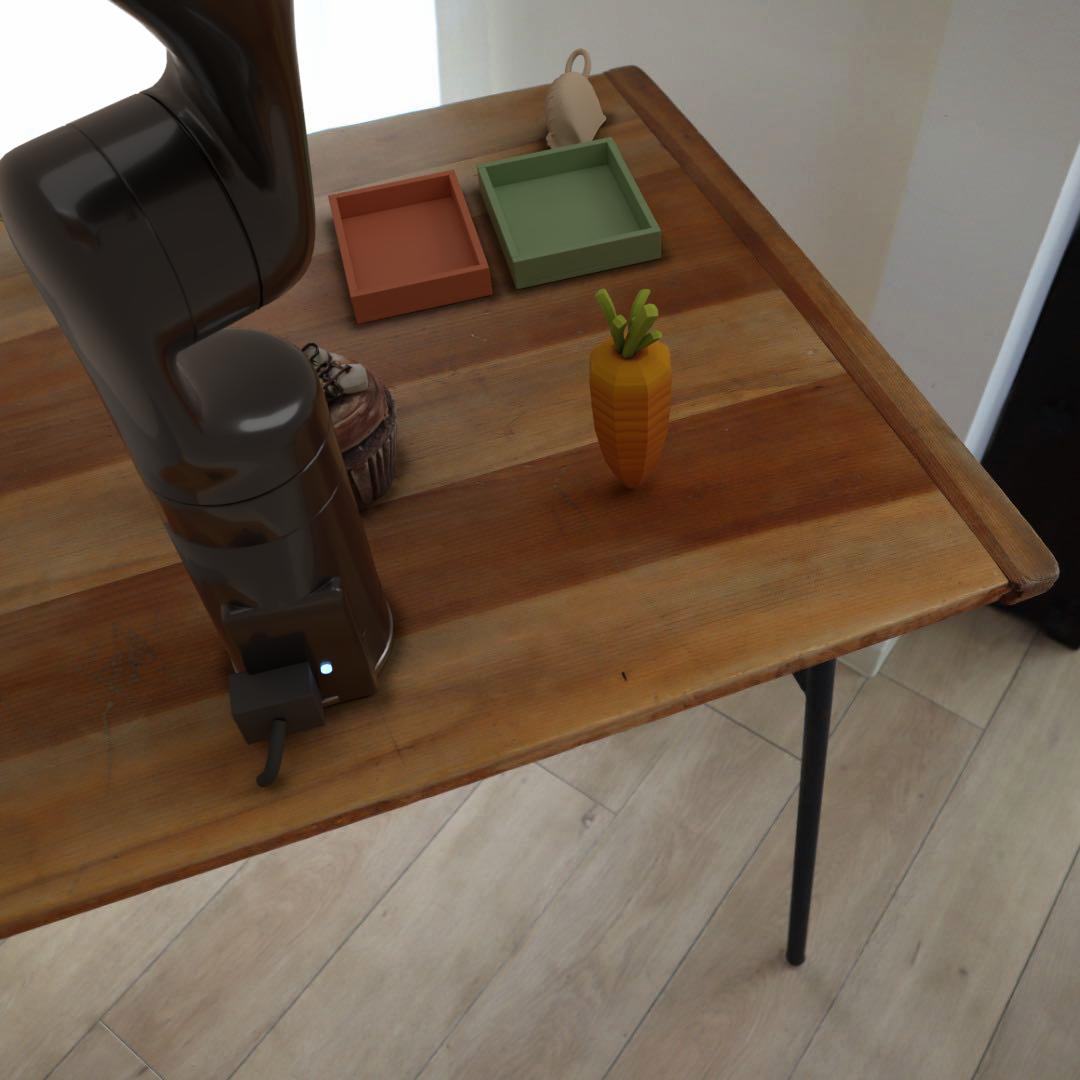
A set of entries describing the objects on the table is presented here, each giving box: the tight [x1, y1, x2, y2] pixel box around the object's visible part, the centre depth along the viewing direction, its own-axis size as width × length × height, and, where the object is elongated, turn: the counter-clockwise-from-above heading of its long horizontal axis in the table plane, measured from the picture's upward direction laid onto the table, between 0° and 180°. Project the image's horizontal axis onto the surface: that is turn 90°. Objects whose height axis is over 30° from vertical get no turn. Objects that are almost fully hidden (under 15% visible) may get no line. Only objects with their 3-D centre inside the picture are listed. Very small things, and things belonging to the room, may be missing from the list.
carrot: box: [588, 288, 673, 490], centre depth 68 cm, size 5×5×15 cm
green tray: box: [476, 136, 662, 290], centre depth 91 cm, size 13×11×2 cm
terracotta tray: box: [327, 169, 493, 325], centre depth 90 cm, size 13×10×2 cm
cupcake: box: [299, 342, 398, 512], centre depth 73 cm, size 10×10×10 cm
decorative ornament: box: [544, 47, 607, 149], centre depth 98 cm, size 4×8×5 cm, turn 158°
